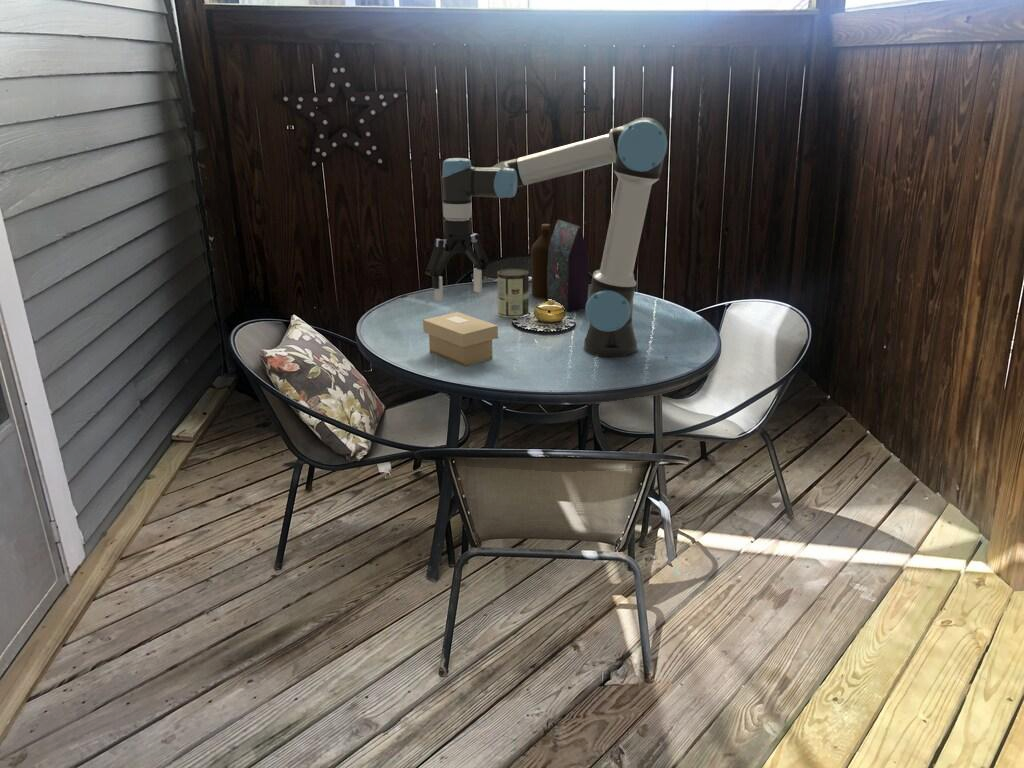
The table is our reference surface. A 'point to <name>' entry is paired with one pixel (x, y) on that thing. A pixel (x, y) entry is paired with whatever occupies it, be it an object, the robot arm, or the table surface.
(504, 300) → the coffee can
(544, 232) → the olive oil
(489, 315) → the table surface
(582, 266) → the decorative box
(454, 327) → the lid
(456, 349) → the kraft box
